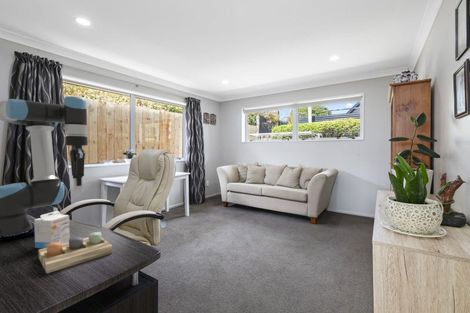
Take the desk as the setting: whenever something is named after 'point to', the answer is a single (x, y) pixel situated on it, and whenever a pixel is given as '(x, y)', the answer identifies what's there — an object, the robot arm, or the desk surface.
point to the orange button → (54, 248)
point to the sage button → (95, 238)
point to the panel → (74, 255)
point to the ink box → (51, 229)
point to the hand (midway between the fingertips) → (78, 193)
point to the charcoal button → (75, 242)
